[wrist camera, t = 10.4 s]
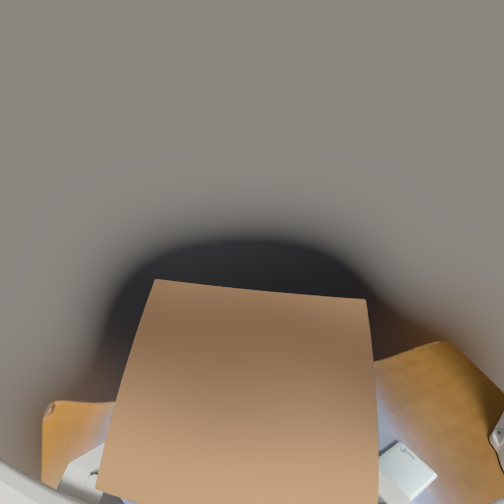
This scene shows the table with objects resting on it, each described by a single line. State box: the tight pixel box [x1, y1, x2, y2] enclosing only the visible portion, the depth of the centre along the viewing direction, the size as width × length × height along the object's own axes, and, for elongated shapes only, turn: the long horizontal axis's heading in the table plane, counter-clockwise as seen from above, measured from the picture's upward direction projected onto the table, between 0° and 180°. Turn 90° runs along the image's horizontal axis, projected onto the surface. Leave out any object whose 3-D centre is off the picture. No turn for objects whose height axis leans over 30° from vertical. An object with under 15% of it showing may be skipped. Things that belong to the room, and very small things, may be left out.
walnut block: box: [95, 279, 379, 504], centre depth 10 cm, size 5×5×12 cm
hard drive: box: [379, 441, 437, 501], centre depth 27 cm, size 2×8×12 cm
